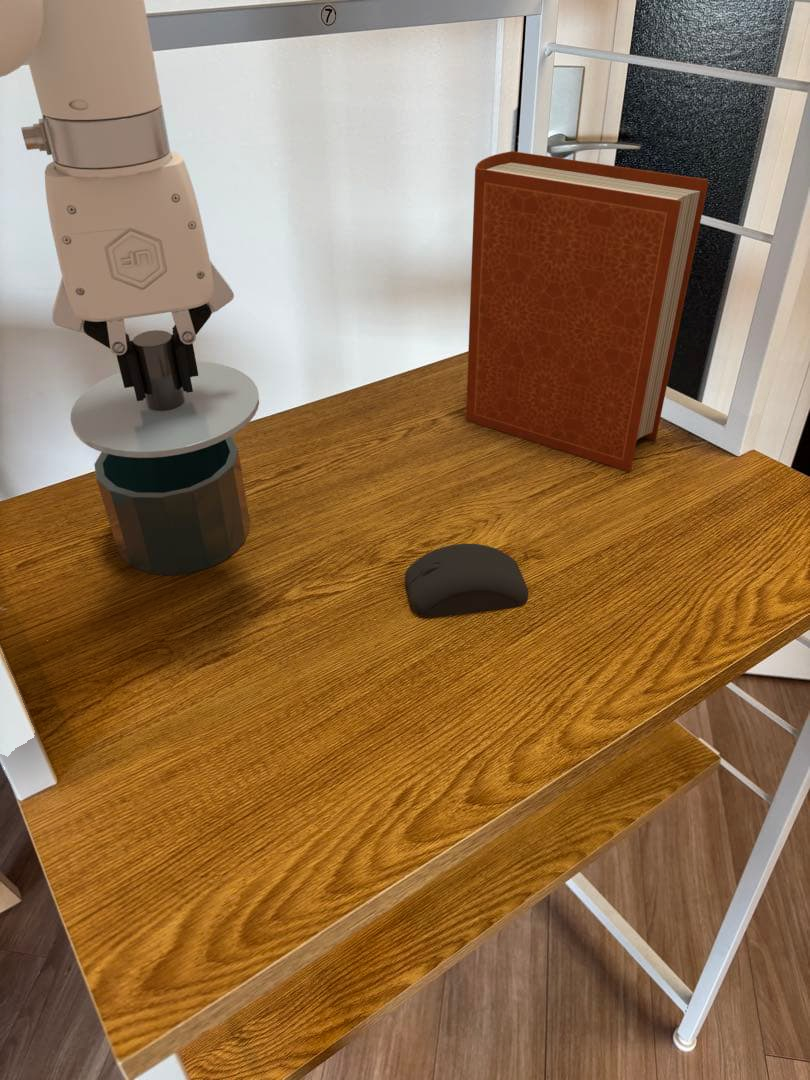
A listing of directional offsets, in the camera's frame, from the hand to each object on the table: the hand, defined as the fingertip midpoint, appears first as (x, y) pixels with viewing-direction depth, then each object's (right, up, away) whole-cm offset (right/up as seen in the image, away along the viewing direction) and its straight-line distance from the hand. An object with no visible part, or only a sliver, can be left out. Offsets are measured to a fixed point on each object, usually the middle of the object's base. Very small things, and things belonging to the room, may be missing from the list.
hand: (162, 387), depth 66 cm
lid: (0, -2, +1) cm, 2 cm away
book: (+38, +1, +37) cm, 53 cm away
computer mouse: (+25, -17, +14) cm, 33 cm away
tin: (-4, -11, +21) cm, 25 cm away
